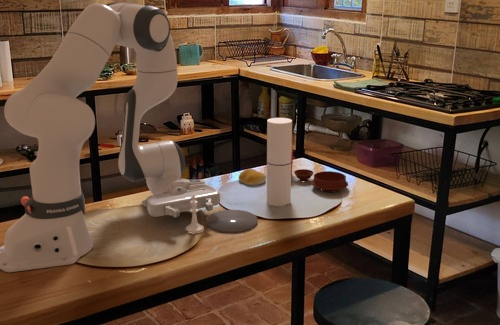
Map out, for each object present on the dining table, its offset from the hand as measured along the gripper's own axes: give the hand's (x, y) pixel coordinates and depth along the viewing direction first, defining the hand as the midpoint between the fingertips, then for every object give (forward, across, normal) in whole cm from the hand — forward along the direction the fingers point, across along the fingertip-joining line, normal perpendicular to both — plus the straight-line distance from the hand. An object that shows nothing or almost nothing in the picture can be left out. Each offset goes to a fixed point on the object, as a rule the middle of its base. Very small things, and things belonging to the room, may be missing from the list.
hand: (194, 211), depth 149 cm
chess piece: (0, 0, +6) cm, 6 cm away
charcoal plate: (0, +11, +6) cm, 12 cm away
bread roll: (-27, +32, +6) cm, 42 cm away
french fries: (-29, +45, +6) cm, 54 cm away
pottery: (-13, +49, +6) cm, 51 cm away
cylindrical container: (-7, +30, +6) cm, 31 cm away
